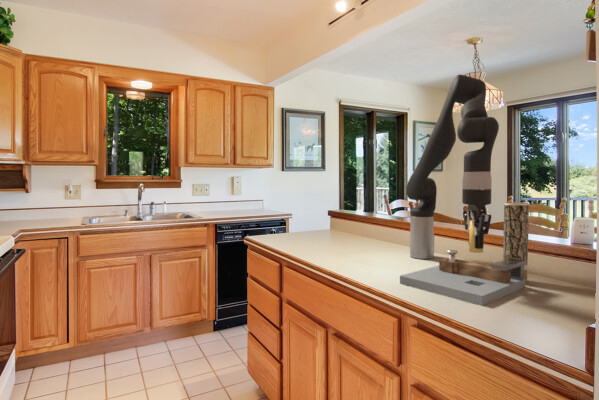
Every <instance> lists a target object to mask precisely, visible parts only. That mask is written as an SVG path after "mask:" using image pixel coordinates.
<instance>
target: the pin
mask: <svg viewBox="0 0 599 400" xmlns="http://www.w3.org/2000/svg"><path fill="white" fill-rule="evenodd" d="M476 224H479V223H476ZM468 249H469V250H468V251H469V252H470V253H475V254H476V253H477V254H479V253H484V247H483V248H482V249H476V248H475V231H474V227H473V226H472V220H470V228H469V233H468Z"/></svg>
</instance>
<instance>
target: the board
mask: <svg viewBox="0 0 599 400" xmlns="http://www.w3.org/2000/svg"><path fill="white" fill-rule="evenodd" d="M399 284H401V285H405V286H407V287H410V288H411V287H413V288H414V289H415V288H416V289H419V290H423V291H427V292H429V293H435V294H437V295H441V296H446V297H448V298H453V299H456V300H460V301H463V302H468V303H472V304H475V305H478V306H484V305H487V304H489V303H492V302H494V301H496V300H499V299H501V298H503V297H505V296H507V295H510V294H513V293H515V292H517V291H520V290H522V289H523V288H526V282H525V279H524V280H521V281H519V280H514V279H510V282H508V283H500V282H496V281H491V280H486V279H481V278H477V277H472V276H467V275H462V274H455V273H448V272H443V271H441V270H439V265H436V266H432V267H428V268H424V269H420V270H417V271H412V272H409V273H405V274H402V275H401V274H400V275H399Z"/></svg>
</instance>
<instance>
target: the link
mask: <svg viewBox="0 0 599 400" xmlns="http://www.w3.org/2000/svg"><path fill="white" fill-rule="evenodd" d="M438 261H439V263H438V266H439V270H441V271H443V272H448V273H455V274H462V275H467V276H472V277H477V278H481V279H486V280H491V281H496V282H500V283H508V282H510V279H511V270H507V271H502V270H497V269H492V268H491V265H487V264H483V263H482V264H481V263H477V262H469V261H466V260H463V259H459V258H455V262H452V261H449V257H444V258H441V259H439V260H438Z"/></svg>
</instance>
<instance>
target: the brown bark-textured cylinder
mask: <svg viewBox="0 0 599 400" xmlns="http://www.w3.org/2000/svg"><path fill="white" fill-rule="evenodd" d="M529 220H530V203H529V202H520V201H519V202H518V201H517V202H515V201H514V202H513V201H512V202H511V201H508V202H507V201H506V202H504V205H503V241H502V242H503V244H502V249H503V251H502V261H504V260H507V259H510V258H511V259H517V260H524V279H525V283H526V282H527V280H528V266H529V265H528V263H529V262H528V257H529V256H528V255H529V229H530V228H529V227H530V226H529V225H530V224H529Z"/></svg>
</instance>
